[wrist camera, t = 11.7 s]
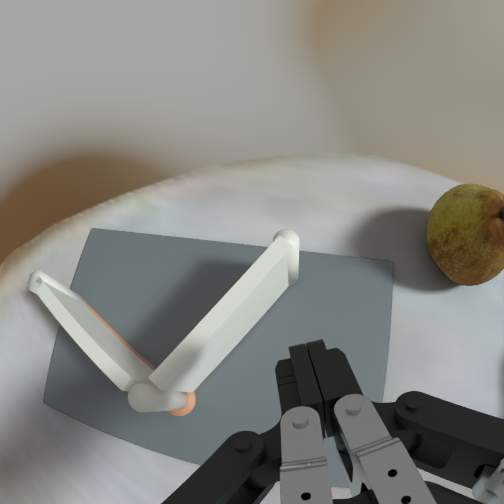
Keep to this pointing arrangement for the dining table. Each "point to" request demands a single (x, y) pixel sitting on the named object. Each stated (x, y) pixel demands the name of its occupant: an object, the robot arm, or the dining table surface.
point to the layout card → (188, 317)
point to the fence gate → (231, 317)
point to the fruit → (468, 234)
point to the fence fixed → (105, 347)
